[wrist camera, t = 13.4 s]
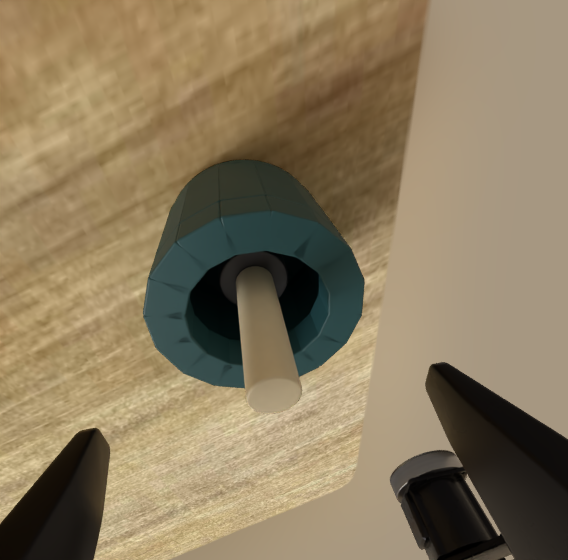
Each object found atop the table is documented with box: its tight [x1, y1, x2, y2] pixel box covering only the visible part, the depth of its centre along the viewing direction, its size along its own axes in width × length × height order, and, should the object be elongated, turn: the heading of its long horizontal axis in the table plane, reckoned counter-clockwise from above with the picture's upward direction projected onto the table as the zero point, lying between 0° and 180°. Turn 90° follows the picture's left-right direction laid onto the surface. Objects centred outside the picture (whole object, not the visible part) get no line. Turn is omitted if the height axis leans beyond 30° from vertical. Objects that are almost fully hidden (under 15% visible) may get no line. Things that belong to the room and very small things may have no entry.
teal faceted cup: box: [143, 160, 365, 388], centre depth 15 cm, size 8×8×7 cm
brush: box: [219, 251, 302, 414], centre depth 13 cm, size 3×3×10 cm
